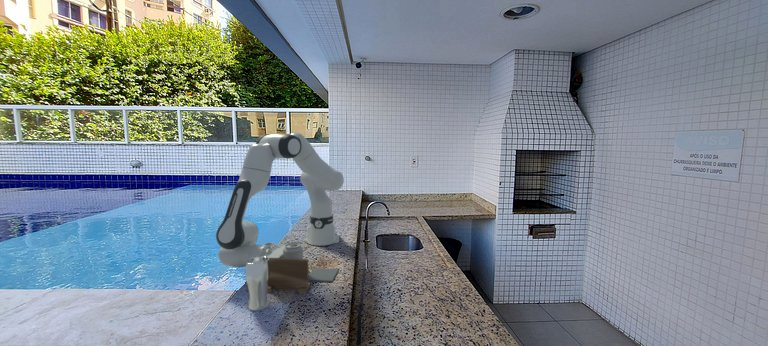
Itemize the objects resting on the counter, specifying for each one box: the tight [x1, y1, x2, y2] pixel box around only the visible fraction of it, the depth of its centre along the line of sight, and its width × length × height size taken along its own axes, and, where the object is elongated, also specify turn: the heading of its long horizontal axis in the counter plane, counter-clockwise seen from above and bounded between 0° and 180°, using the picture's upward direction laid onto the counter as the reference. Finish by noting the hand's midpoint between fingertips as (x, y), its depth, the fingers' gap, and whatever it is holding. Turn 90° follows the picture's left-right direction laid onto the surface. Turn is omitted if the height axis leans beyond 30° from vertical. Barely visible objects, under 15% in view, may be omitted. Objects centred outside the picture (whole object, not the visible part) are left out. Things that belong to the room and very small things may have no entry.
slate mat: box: [308, 267, 339, 283], centre depth 122 cm, size 11×10×1 cm
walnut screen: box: [267, 258, 311, 295], centre depth 109 cm, size 6×14×11 cm, turn 86°
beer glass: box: [245, 256, 270, 312], centre depth 97 cm, size 7×7×15 cm
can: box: [283, 242, 304, 259], centre depth 122 cm, size 8×8×12 cm
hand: (295, 258), depth 122 cm, fingers closed on can, 7 cm apart
